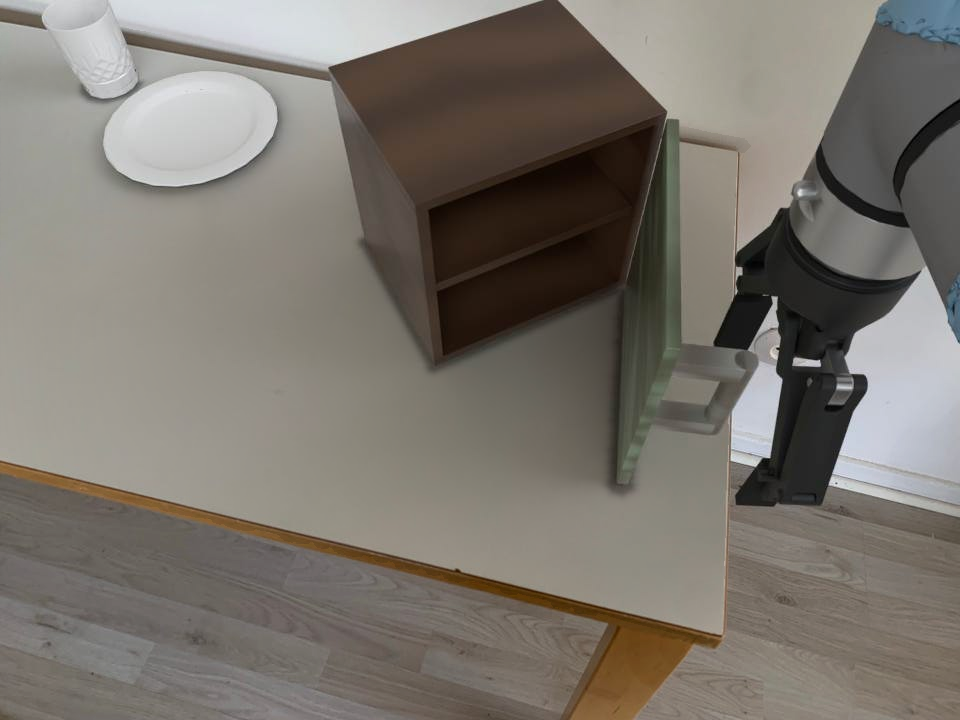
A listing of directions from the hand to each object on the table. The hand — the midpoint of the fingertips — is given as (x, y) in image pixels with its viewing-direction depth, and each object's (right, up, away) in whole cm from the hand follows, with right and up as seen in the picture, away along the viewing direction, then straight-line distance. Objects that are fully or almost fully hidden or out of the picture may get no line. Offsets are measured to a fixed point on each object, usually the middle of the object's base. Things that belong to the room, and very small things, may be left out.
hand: (741, 419), depth 57 cm
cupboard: (-19, +15, +21) cm, 32 cm away
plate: (-55, +32, +33) cm, 72 cm away
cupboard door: (-3, +3, +13) cm, 14 cm away
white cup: (-68, +41, +39) cm, 89 cm away
